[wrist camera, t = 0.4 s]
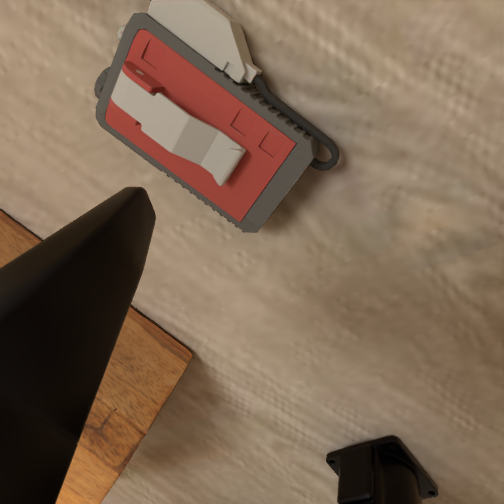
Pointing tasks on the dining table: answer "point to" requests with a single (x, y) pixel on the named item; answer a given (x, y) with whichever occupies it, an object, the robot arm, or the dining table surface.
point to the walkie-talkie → (205, 111)
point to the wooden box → (113, 392)
